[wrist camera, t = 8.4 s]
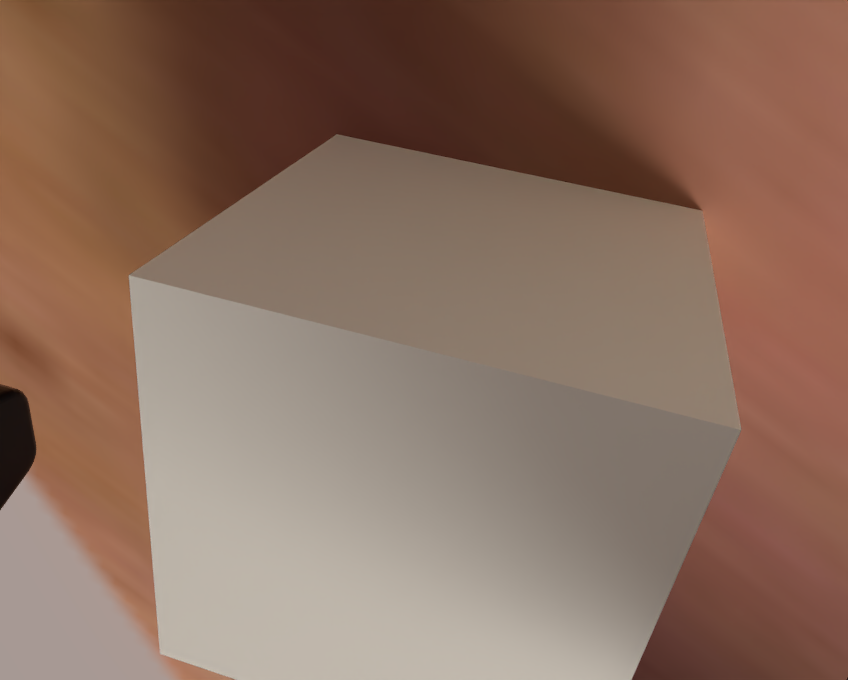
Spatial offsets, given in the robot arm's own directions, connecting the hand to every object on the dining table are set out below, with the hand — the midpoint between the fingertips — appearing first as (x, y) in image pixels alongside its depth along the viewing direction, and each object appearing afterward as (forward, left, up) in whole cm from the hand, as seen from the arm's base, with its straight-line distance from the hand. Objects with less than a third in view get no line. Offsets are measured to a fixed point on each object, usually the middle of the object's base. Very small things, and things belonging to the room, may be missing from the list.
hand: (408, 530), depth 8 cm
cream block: (0, 0, -4) cm, 4 cm away
